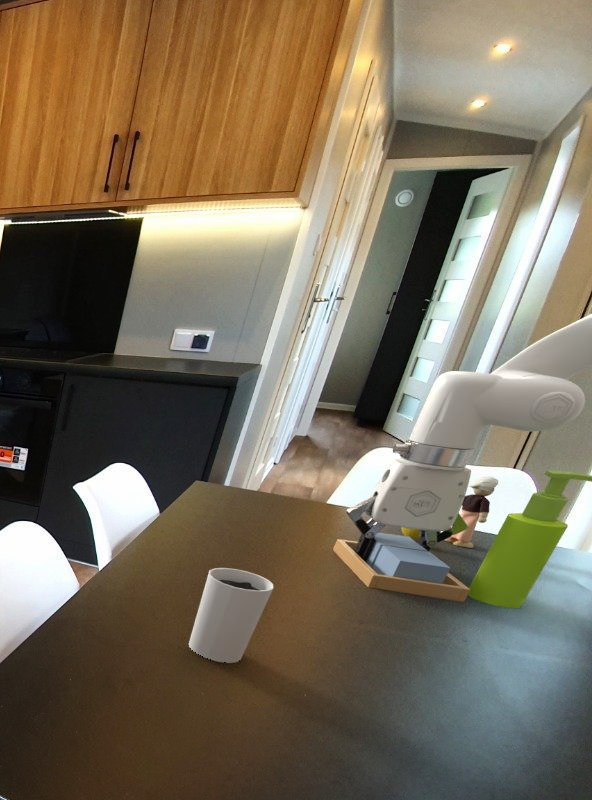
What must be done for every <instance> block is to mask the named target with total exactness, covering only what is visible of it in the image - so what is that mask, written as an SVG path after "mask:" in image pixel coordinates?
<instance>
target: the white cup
mask: <svg viewBox="0 0 592 800" xmlns="http://www.w3.org/2000/svg"><path fill="white" fill-rule="evenodd" d="M273 590H274V583H272V582H271V580H269V579H268V578H265V577H264V576H261V575H259V574H256V573H253V572H249V571H246V570H241V569H238V568H228V567H217V568H216V567H215V568H212V569H210V570H208V575H207V578H206V581H205V585H204V588H203V592H202V596H201V599H200V602H199V606H198V608H197V613H196V616H195V620H194V623H193V627H192V631H191V634H190V638H189V641H188V645H189V646H188V647H189V649H190V648H191V649H190V650H191V651H192V650H193V651H192V652H194V653H195V652H196V653H195V654H196V655H198V654H199V655H198V656H200V655H201V656H200V657H202V656H203V658H205V659H207V658H208V659H207V660H210V659H211V660H210V661H214V662H218V663H224V662H226V663H225V664H233V663H235V664H236V663H238V662H240V661H241V660H242V658H243V655H244V653H245V652H246V649H247V647H248V645H249V642H250V640H251V638H252V636H253V634H254V632H255V630H256V627H257V625H258V623H259V621H260V618H261V616H262V614H263V612H264V610H265V608H266V606H267V604H268V601H269V599H270V597H271V595H272V592H273ZM239 660H240V661H239Z"/></svg>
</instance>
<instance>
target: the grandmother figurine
mask: <svg viewBox="0 0 592 800" xmlns="http://www.w3.org/2000/svg"><path fill="white" fill-rule="evenodd" d="M497 486H499V480H498V479H497V478H495V477H493V476H483V477H481V478H478V479H476V480H474V481H473V482H472V483H469V484H468V487H469V488H470V489H471V488H472V489H473V493H474V494H467V495H465V498H464V500H463V503H462V506H461V513H460V515H461V517H462V518H463V520H464V521H465V523H466V524H467V526H468V529H467V530H465V531H462V532H460V533H458V534H455V535H452V536H451V537H449V538H447V539H445V540H444V542H447V543H452V545H453V546H457V547H461V548H468V549H473V548H474V544H473V542H471V540H472V539H473V535H474V533H475V529H476V527H477V523H481V524H484V523H486V522H487V521H488V520H487V519H488V516H489V513H490V505H491V501H490V500H489V499H488V498H487V497H488V496H490V495H492V494H493V493H494V492H495V488H496V487H497Z"/></svg>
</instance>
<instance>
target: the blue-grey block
mask: <svg viewBox="0 0 592 800" xmlns="http://www.w3.org/2000/svg"><path fill="white" fill-rule="evenodd" d="M372 569H373V570H374V571H375V572H376V573H377V574H379V575H386V576H393V577H399V578H406V579H413V580H419V581H426V582H433V583H439V584H442V583H443V581H444V579H445V578H446V576H447V574H448V573H449V572H450V570H451V567H450V566H449V565H447V564H446V563H445V562H444V561H442V560H441V559H440V558H438V557H437V556H436V555H434V554H433V553H432V552H430V551H428V552H427V551H419V550H412V549H405V548H397V547H390V546H382V548H381V550H380V552H379V555H378V557H377V559H376V561H375V563H374V565H373V568H372Z"/></svg>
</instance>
